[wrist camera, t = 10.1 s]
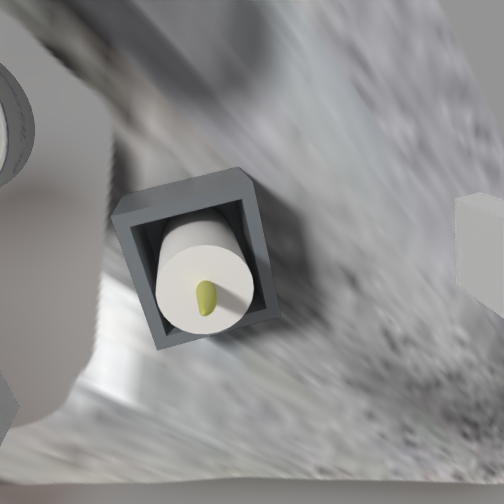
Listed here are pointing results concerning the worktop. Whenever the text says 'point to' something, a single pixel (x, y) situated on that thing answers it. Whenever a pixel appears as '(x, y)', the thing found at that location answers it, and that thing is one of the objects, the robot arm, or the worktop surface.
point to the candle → (202, 273)
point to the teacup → (14, 127)
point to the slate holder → (182, 201)
